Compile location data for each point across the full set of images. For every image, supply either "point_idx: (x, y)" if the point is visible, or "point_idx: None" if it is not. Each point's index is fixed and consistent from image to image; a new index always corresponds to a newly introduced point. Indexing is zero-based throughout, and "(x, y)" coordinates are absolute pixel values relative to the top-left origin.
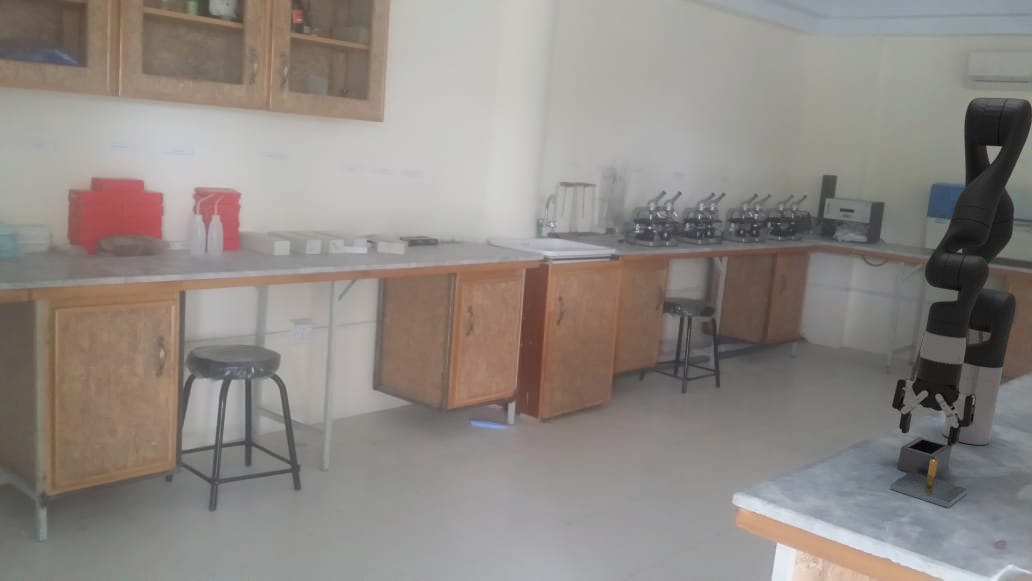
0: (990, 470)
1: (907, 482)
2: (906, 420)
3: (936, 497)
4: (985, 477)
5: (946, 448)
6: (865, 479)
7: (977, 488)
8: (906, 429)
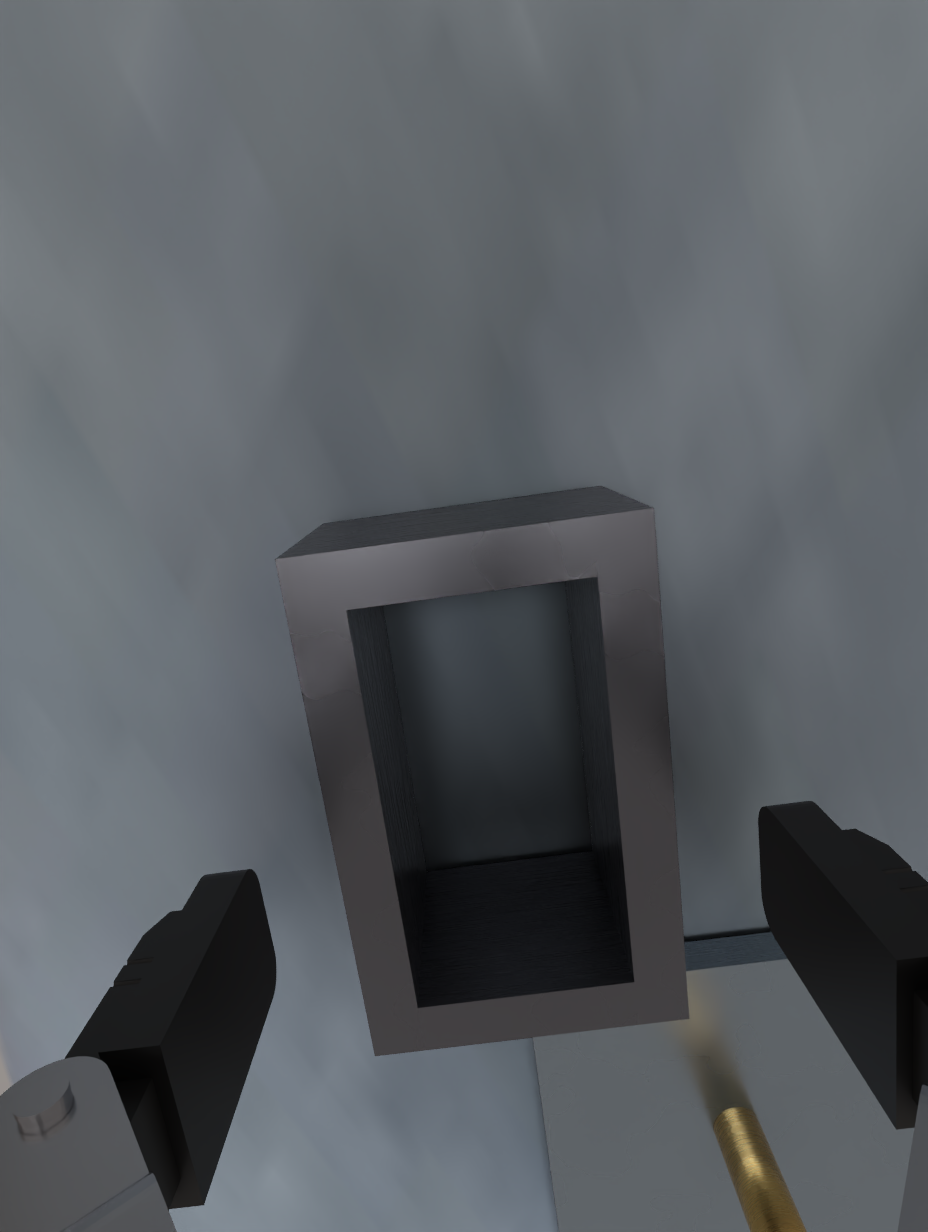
0: (860, 86)
1: (615, 1185)
2: (221, 1128)
3: None
4: (886, 365)
5: (650, 657)
6: (382, 1217)
7: (916, 703)
8: (258, 979)
